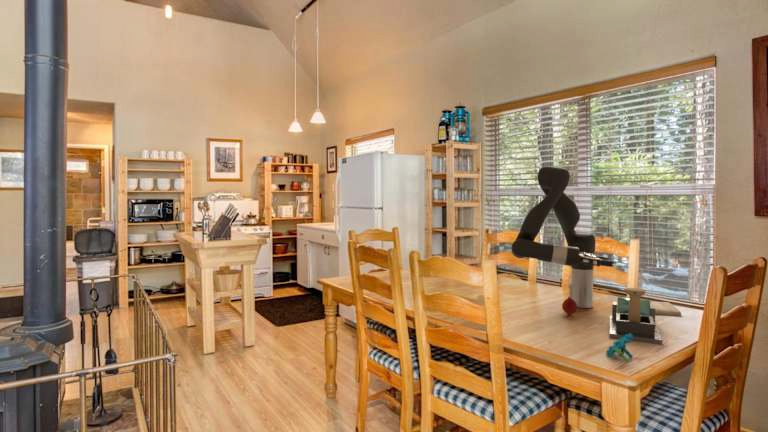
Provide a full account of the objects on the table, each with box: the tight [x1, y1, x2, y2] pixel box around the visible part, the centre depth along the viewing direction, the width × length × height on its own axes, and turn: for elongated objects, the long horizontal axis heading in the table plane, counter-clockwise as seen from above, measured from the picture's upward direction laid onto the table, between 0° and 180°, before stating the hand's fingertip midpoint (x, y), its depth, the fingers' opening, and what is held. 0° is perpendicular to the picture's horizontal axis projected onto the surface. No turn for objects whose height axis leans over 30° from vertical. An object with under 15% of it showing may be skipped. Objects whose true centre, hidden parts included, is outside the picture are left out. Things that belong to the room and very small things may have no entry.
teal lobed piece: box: [605, 333, 634, 363], centre depth 142 cm, size 11×6×10 cm
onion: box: [561, 295, 578, 316], centre depth 190 cm, size 6×6×8 cm
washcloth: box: [650, 300, 682, 316], centre depth 199 cm, size 12×18×3 cm, turn 164°
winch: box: [608, 296, 663, 345], centre depth 170 cm, size 16×28×10 cm, turn 153°
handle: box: [624, 287, 646, 322], centre depth 164 cm, size 5×6×15 cm
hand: (610, 262), depth 170 cm, fingers open, 8 cm apart
